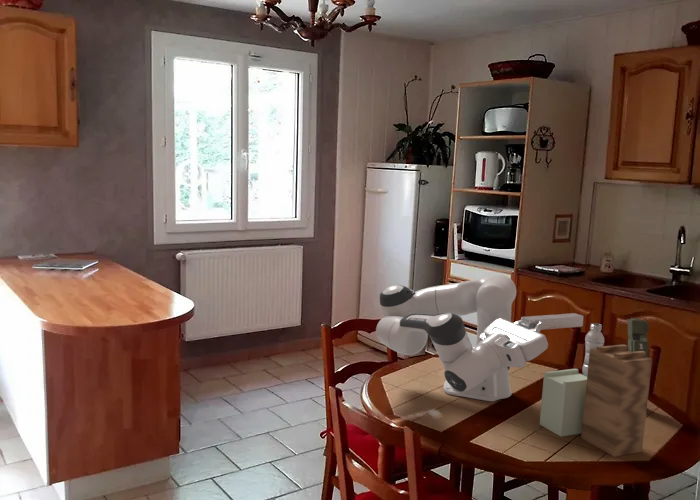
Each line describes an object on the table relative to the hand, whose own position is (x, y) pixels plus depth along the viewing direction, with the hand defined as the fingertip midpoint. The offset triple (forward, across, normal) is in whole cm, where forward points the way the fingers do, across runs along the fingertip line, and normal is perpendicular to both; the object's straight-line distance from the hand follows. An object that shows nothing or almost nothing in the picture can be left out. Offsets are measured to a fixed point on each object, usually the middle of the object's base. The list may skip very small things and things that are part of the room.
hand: (536, 321), depth 173 cm
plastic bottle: (+33, -34, -57) cm, 74 cm away
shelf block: (-4, 0, -36) cm, 36 cm away
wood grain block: (0, +13, -38) cm, 40 cm away
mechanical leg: (+25, -8, -53) cm, 59 cm away
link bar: (+4, 0, -4) cm, 6 cm away
